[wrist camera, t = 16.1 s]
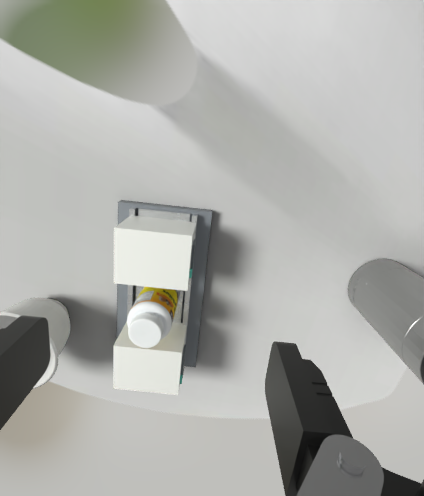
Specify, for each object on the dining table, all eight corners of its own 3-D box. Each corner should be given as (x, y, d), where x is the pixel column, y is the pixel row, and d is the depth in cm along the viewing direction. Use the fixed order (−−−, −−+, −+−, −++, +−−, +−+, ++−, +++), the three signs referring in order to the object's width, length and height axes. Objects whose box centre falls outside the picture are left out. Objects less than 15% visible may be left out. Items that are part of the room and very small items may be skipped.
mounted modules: (130, 215, 41) (114, 227, 34) (198, 222, 41) (195, 236, 34) (127, 355, 48) (113, 388, 41) (185, 361, 48) (180, 395, 41)
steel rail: (132, 207, 41) (129, 208, 40) (197, 214, 41) (197, 216, 40) (128, 357, 49) (126, 363, 47) (183, 363, 49) (183, 368, 48)
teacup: (-13, 282, 47) (-72, 316, 37) (80, 278, 46) (45, 310, 37) (8, 348, 50) (-41, 393, 41) (94, 344, 50) (65, 389, 40)
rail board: (121, 200, 42) (118, 201, 41) (212, 210, 42) (212, 212, 41) (119, 353, 50) (116, 359, 49) (196, 361, 50) (195, 367, 49)
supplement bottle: (184, 305, 45) (175, 347, 35) (150, 315, 45) (132, 359, 36) (171, 272, 43) (157, 307, 33) (136, 283, 44) (112, 320, 34)
